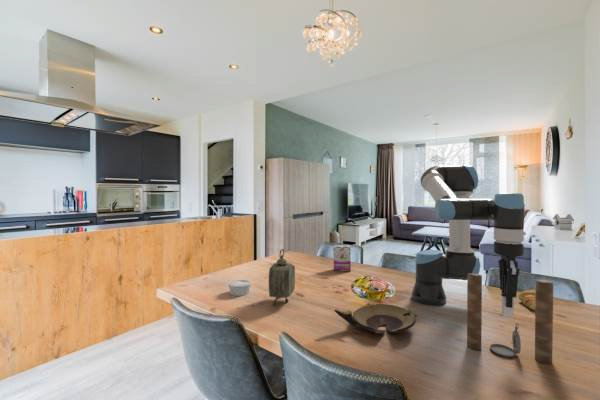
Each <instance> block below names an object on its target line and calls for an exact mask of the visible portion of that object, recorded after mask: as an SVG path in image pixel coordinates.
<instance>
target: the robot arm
mask: <svg viewBox="0 0 600 400" xmlns="http://www.w3.org/2000/svg"><path fill="white" fill-rule="evenodd" d="M478 175H479V174H478V172H477V170H476V169H475V167H474V166H473V165H470V164H451V165H449V164H448V165H446V164H445V165H435V166H431V167H430V168H427V169H426V170H425V171H424V172H423V173H422V175H421V176H420V185H421V187H422V188H423V190H424V191H426V192H428V193H429V195H430V196H431V198H432V199H433V201H434V202H435V203H434V213H435V217H436V218H437V219H439V220H445V221H448V227H449V228H448V233H449V238H448V239H449V243H448V244H449V246H448V247H447V248H445V253H443V252H442V250H439V249H425V250H421V251H418V252H417V253H416V254H415V261H414V263H415V282H414V285H413V287H412V290H411V298H412V300H413V301H415V302H418V303H420V304H424V305H429V306H443V305H445V304H446V303H447V295H446V292H445V290H444V287H443V280H460V281H461V280H462V281H467V278H468V273H474V274H479V275H480V272H481V271H480V270H481V262H480V257H479V256H478V255H476V254H475V251H474V250H473V248H472V247H471V222H470V221H493V240H494V242H493V253H495V254H497V255H500V258H499V259H498V268H499V270H498V271H499V289H500V291H501V293H500V296H501V316H502V317H505V318H511V319H512V318H513V319H514V318H515V317H514V315H515V314H514V313H515V312H514V311H515V310H514V309H515V307H514V306H515V302H514V301H515V300H514V299H515V298H517V296H518V295H517V292H518V281H519V274H520V268H518V266H519V265H518V264H519V263H518V261H517V257H522V256H524V254H525V253H524V251H525V247H524V244H523V242H524V236H526V232H525V230H524V229H525V227H524V226H525V205H526V204H525V196H524V194H523V193H521V192H520V193H519V192H502V193H500V192H498V193H495V194H494V198H470V197H471V195H473V194H474V190H476V189H477V188H478V187H479V186H478V185H479V176H478Z"/></svg>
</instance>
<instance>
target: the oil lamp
mask: <svg viewBox="0 0 600 400" xmlns="http://www.w3.org/2000/svg"><path fill="white" fill-rule="evenodd" d="M334 312H335V313H336V314H337V315H338V316H339V317H340V318H342V319H343V320H344V321H346V322H347V323H348V324H349V325H351V326H352V327H360V328H363V329H364V330H366V331H367V330H368V331H371V332H374V333H379V334H385V333H386V332H388V333H389V334H390V333H391V334H395V333H396V334H397V333H401V332H404V331H407V330H409V329H411V328H412V327H413V326H414V325H415V324H416V322H417V317H418V314H415V313H414V312H413V311H412V310H410V309H406V308H404V307H401V306H398V305H392V304H386V303H385V304H384V303H376V304H374V303H373V304H368V305H364V306H361V307H359V308H357V309H355V311H353V312H352V310H351V309H349V310H345V311H342V310H339V309H334ZM385 326H386V327H385ZM379 327H385V329H386V330H385V329H378V328H379Z"/></svg>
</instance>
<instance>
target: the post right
mask: <svg viewBox="0 0 600 400" xmlns="http://www.w3.org/2000/svg"><path fill="white" fill-rule="evenodd" d="M535 290H536V296H535V310H534V311H535V313H534V317H535V318H534V359H535V360H536V361H537V362H539V363H541V364H544V365H553V345H554V344H553V342H554V340H553V339H554V338H553V332H554V329H553V328H554V325H553V324H554V282H552V281H549V280H545V279H536V280H535Z"/></svg>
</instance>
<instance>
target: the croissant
mask: <svg viewBox="0 0 600 400" xmlns="http://www.w3.org/2000/svg"><path fill="white" fill-rule="evenodd" d="M517 296H518V300H519V301H520V302H521V303H522V304H523V305H524V306H526V307H527V308H529V309H530V310H531V311H535V296H536V289H525V290H523V291H521V292H520V293H519V294H518V295H517Z"/></svg>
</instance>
